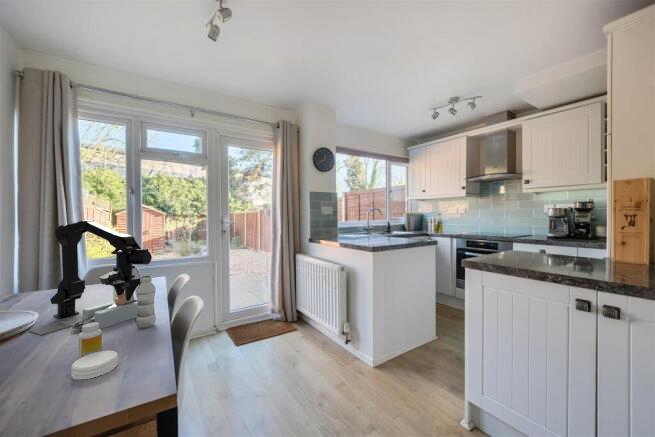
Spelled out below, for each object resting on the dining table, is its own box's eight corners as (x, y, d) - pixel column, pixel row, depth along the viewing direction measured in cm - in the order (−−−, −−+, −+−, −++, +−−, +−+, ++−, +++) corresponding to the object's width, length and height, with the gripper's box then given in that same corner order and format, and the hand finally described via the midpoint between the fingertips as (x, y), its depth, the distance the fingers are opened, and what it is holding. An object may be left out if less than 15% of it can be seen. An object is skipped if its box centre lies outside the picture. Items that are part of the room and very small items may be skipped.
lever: (77, 330, 100) (76, 327, 100) (72, 328, 101) (71, 325, 101) (134, 299, 118) (133, 297, 118) (129, 298, 120) (128, 296, 119)
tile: (115, 303, 115) (113, 298, 115) (127, 296, 120) (125, 292, 119) (122, 304, 113) (120, 299, 113) (134, 298, 118) (132, 293, 117)
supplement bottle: (105, 352, 85) (106, 322, 85) (85, 361, 80) (86, 329, 80) (94, 349, 87) (95, 320, 87) (74, 357, 82) (74, 326, 82)
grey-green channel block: (99, 329, 103) (100, 313, 103) (82, 323, 108) (82, 309, 107) (146, 313, 119) (147, 300, 119) (130, 309, 124) (130, 297, 124)
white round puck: (126, 363, 79) (126, 352, 79) (90, 384, 70) (90, 370, 70) (100, 359, 82) (100, 348, 82) (61, 378, 72) (61, 365, 72)
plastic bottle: (159, 325, 107) (159, 275, 107) (141, 331, 101) (142, 279, 101) (149, 322, 110) (149, 274, 110) (131, 328, 104) (132, 277, 104)
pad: (28, 331, 100) (28, 330, 100) (60, 322, 108) (60, 321, 108) (40, 335, 97) (40, 334, 97) (72, 326, 105) (72, 325, 105)
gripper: (89, 265, 112) (89, 302, 112) (116, 269, 105) (116, 308, 105) (119, 261, 123) (118, 295, 123) (145, 264, 115) (145, 300, 115)
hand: (124, 299), depth 116 cm, fingers closed on tile, 5 cm apart
